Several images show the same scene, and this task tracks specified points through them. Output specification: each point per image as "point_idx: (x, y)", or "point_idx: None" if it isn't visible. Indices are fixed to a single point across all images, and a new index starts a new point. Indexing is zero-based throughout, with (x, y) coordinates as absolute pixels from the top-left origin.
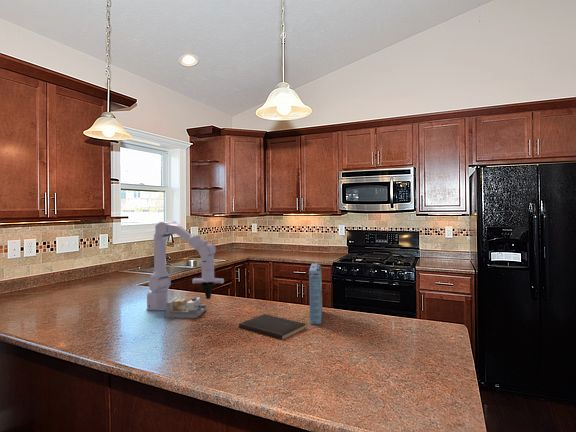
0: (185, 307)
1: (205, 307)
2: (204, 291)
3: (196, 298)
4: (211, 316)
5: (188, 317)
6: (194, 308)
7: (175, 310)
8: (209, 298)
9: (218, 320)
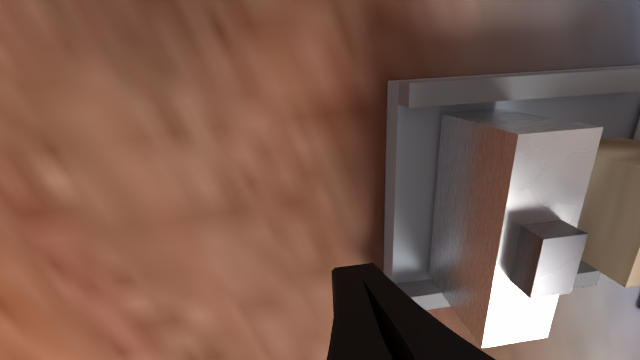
0: None
1: None
2: (462, 338)
3: (518, 284)
4: (272, 143)
5: (465, 76)
6: (461, 141)
7: (623, 140)
8: (332, 277)
9: (141, 28)
